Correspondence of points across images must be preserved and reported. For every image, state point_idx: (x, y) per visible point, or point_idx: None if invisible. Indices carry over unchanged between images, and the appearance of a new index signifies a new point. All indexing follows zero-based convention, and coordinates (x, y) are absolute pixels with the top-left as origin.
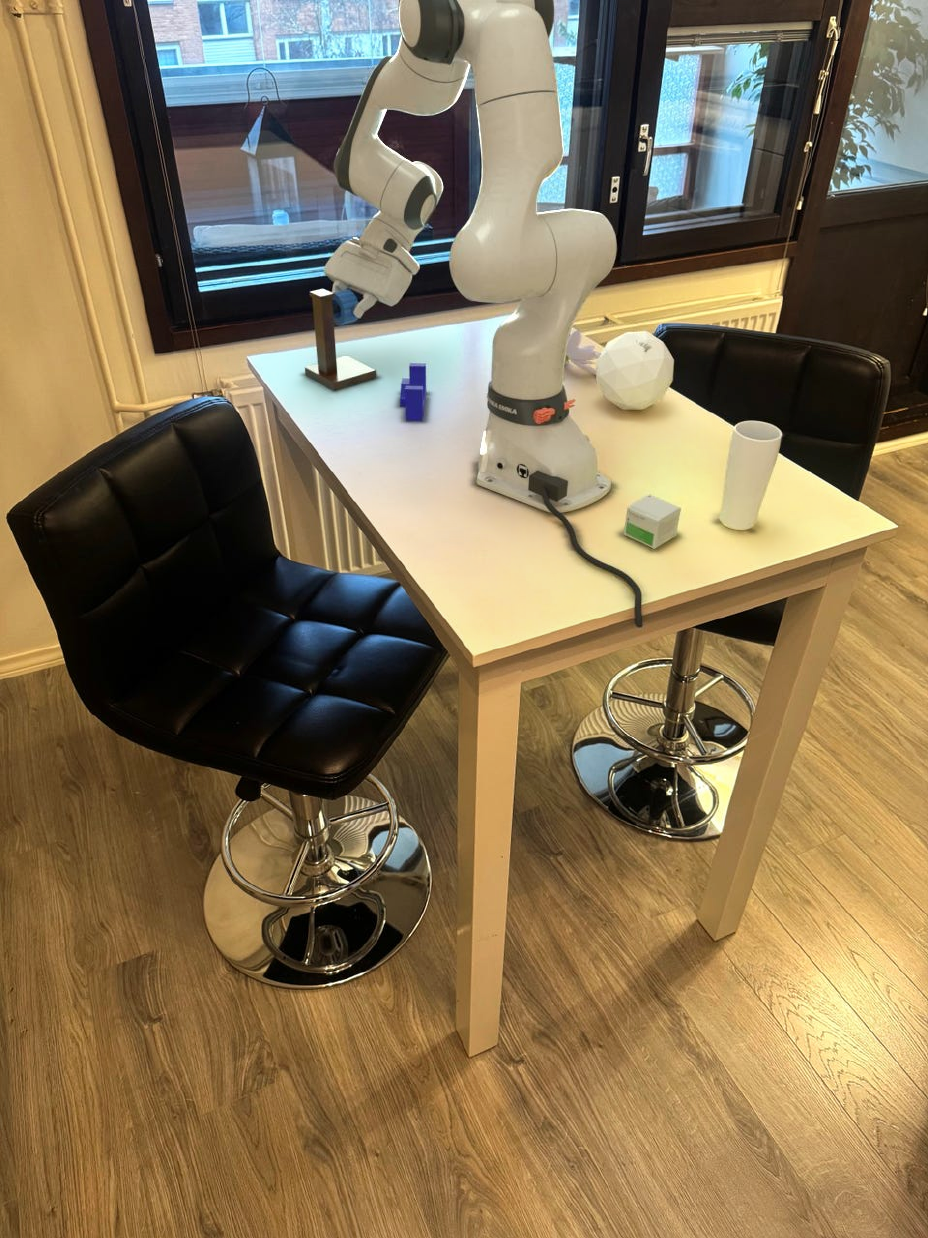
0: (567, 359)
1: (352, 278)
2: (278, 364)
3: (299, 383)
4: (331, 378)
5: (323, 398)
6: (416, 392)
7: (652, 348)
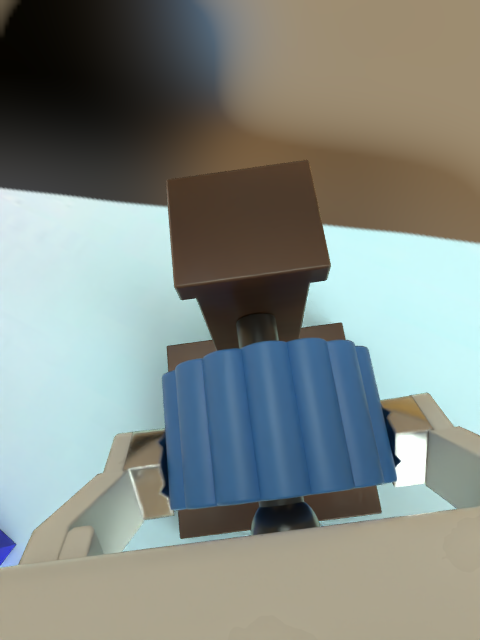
0: None
1: (320, 567)
2: (465, 294)
3: None
4: (203, 356)
5: (143, 303)
6: None
7: None
